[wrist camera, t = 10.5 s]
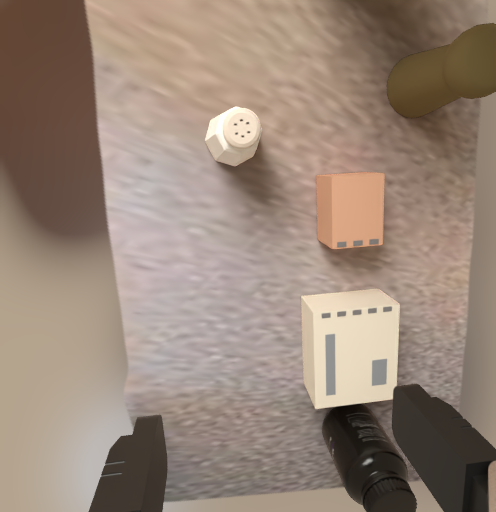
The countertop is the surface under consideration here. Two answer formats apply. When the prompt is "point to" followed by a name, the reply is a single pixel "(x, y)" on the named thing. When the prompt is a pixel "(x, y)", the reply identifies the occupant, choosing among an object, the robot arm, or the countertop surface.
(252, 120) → the salt shaker
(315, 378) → the cream box
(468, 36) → the brown pawn
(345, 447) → the supplement bottle
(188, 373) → the countertop surface
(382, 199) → the orange box
